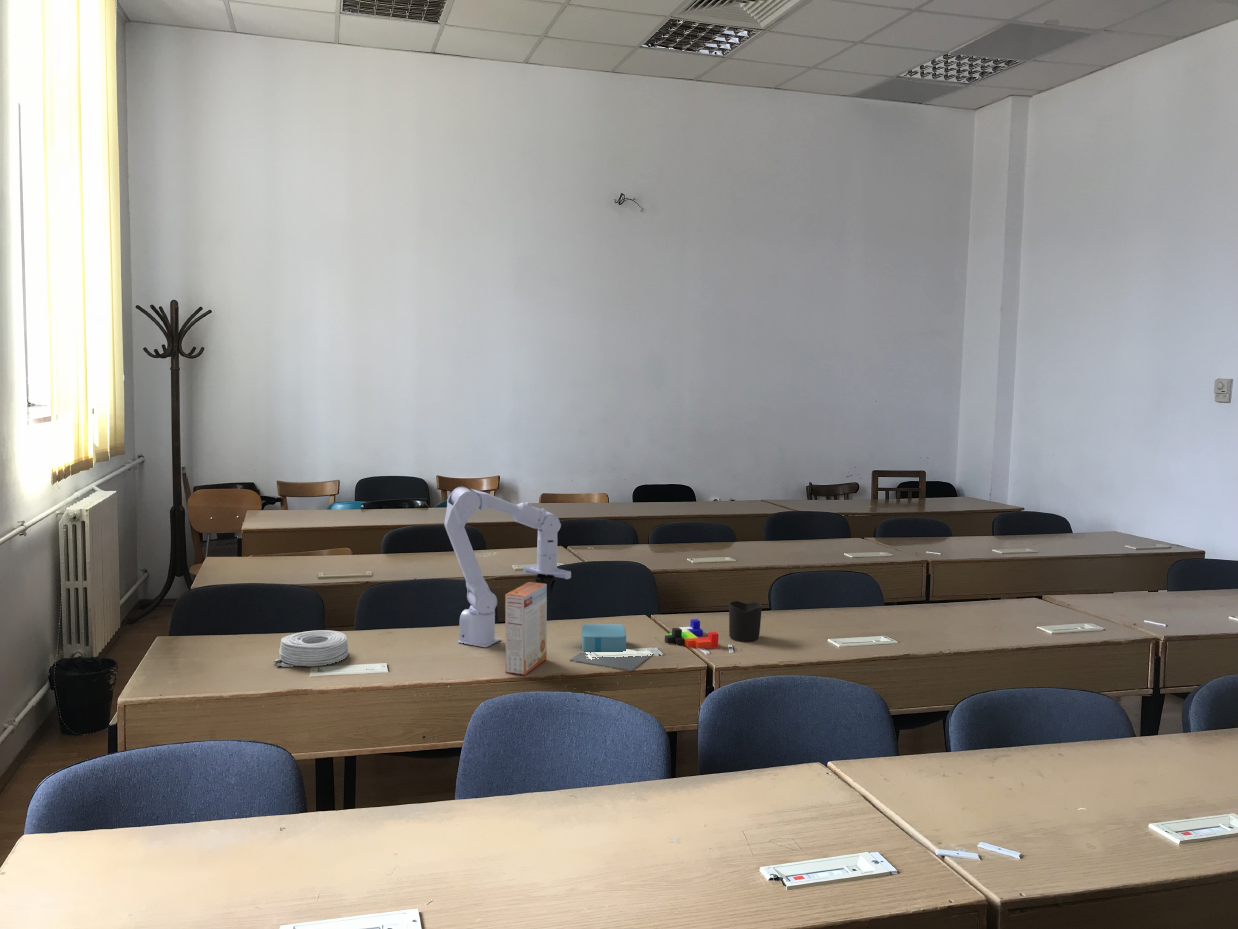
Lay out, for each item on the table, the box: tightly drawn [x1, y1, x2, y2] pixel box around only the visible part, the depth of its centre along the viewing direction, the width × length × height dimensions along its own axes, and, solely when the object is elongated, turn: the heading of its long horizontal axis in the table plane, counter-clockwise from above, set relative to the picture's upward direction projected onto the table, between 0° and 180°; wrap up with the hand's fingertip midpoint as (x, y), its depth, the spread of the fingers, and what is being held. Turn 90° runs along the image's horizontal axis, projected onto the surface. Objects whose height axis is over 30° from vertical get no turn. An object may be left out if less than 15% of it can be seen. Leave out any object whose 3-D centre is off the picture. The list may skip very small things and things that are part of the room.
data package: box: [581, 623, 627, 652], centre depth 264 cm, size 12×4×12 cm
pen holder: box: [728, 600, 763, 643], centre depth 275 cm, size 9×9×10 cm
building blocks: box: [664, 618, 719, 649], centre depth 271 cm, size 15×13×4 cm
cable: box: [273, 629, 349, 668], centre depth 249 cm, size 18×18×6 cm
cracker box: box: [504, 581, 548, 676], centre depth 246 cm, size 14×6×21 cm, turn 160°
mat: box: [569, 652, 651, 672], centre depth 256 cm, size 18×16×1 cm
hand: (546, 600), depth 272 cm, fingers closed
